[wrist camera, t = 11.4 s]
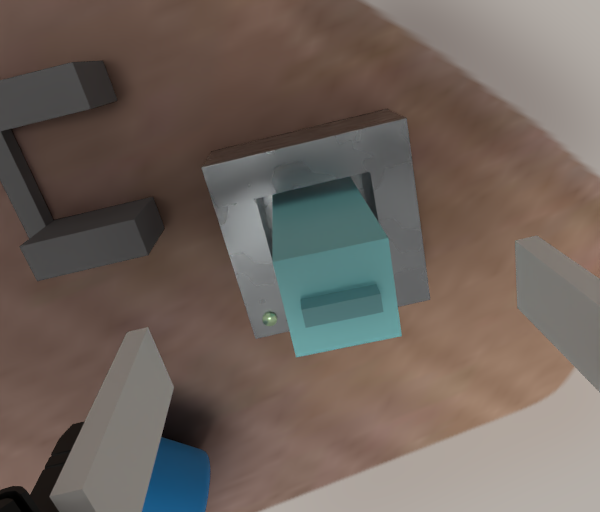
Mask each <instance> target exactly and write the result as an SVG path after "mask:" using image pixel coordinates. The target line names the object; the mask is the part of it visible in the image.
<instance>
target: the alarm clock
mask: <svg viewBox="0 0 600 512" xmlns="http://www.w3.org/2000/svg"><path fill="white" fill-rule="evenodd" d="M209 484H210V461H209V457H208V455H207V453H206V452H205V451H203V450H202V449H199V448H195V447H192V446H189V445H186V444H183V443H179V442H176V441H173V440H170V439H167V438H164V437H161V439H160V443H159V447H158V451H157V455H156V459H155V463H154V467H153V470H152V474H151V478H150V482H149V486H148V490H147V494H146V497H145V501H144V505H143V509H142V512H205V510H206V505H207V499H208V493H209Z"/></svg>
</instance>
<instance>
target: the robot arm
mask: <svg viewBox="0 0 600 512" xmlns="http://www.w3.org/2000/svg"><path fill="white" fill-rule="evenodd" d="M515 255H516V283H517V308H518V309H519V310H520V311H521V312H522V313H523V314H524V315H525V316H526V317H527V318H528V319H529V320H530V321H531V322H532V323H533V324H534V325H535V326H536V327H537V328H538V329H539V330H540V331H541V332H542V334H543V335H544V336H545V337H546V338H547V339H548V340H549V341H550V342H551V343H552V344H553V345H554V346H555V347H556V348H557V349H558V350H559V351H560V352H561V353H562V354H563V355H564V356H565V357H566V358H567V359H568V360H569V361H570V362H571V363H572V364H573V365H574V366H575V367H576V368H577V369H578V370H579V371H580V372H581V374H582V375H583V376H585V378H586V379H587V380H588V381H589V382H590V383H591V384H592V385H593V386H594V387H595V388H596V389H597V390H598V391H599V392H600V279H599V278H598V277H596V276H595V275H593V274H592V273H590V272H589V271H587V270H586V269H585V268H583V267H582V266H580V265H579V264H577V263H576V262H574V261H573V260H572V259H570V258H569V257H567V256H566V255H564V254H563V253H561V252H560V251H559V250H557V249H556V248H554V247H553V246H551V245H550V244H548V243H547V242H545V241H544V240H543V239H541V238H540V237H538V236H533V237H529V238H524V239H520V240H516V241H515ZM173 389H174V386H173V384H172V382H171V379H170V377H169V375H168V372H167V370H166V368H165V365H164V363H163V361H162V358H161V356H160V354H159V351H158V349H157V347H156V344H155V342H154V340H153V338H152V335H151V333H150V331H149V328H148V327H147V328H142V329H138V330H134V331H130V332H127V333H126V335H125V338H124V340H123V342H122V344H121V346H120V348H119V350H118V352H117V354H116V357H115V359H114V361H113V363H112V365H111V367H110V369H109V371H108V374H107V376H106V378H105V380H104V382H103V384H102V386H101V388H100V390H99V393H98V395H97V397H96V399H95V401H94V403H93V405H92V407H91V409H90V412H89V414H88V416H87V418H86V420H85V422H80V423H76V424H72V426H71V427H70V428H69V429H68V430H67V431H66V432H65V433H64V434H63V435H62V436H61V438H60V439H59V440H58V442H57V444H56V446H55V448H54V450H53V452H52V454H51V455H52V456H51V457H50V458H49V460H48V462H47V463H46V465H45V470H43V471H42V473H41V475H40V477H39V479H38V481H37V483H36V485H35V487H34V489H33V491H32V492H31V494H30V495H29V493H28V492H27V491H26V490H25V489H24V488H23V487H21V486H12V487H8V488H5V489H2V490H0V512H142V509H143V505H144V501H145V497H146V494H147V490H148V486H149V482H150V478H151V474H152V470H153V467H154V463H155V459H156V455H157V451H158V447H159V443H160V439H161V436H162V432H163V428H164V424H165V420H166V416H167V412H168V409H169V405H170V401H171V397H172V393H173Z"/></svg>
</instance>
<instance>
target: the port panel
mask: <svg viewBox="0 0 600 512" xmlns="http://www.w3.org/2000/svg"><path fill="white" fill-rule="evenodd" d="M201 168H202V171H203V174H204V177H205V181H206V184H207V187H208V190H209V193H210V196H211V199H212V203H213V206H214V209H215V212H216V215H217V218H218V222H219V225H220V228H221V231H222V234H223V237H224V241H225V244H226V247H227V250H228V253H229V256H230V260H231V263H232V266H233V269H234V272H235V275H236V278H237V282H238V285H239V288H240V291H241V294H242V297H243V301H244V304H245V307H246V310H247V313H248V316H249V320H250V323H251V326H252V329H253V332H254V335H255V338H256V339H257V338H261V337H266V336H270V335H274V334H279V333H283V332H288V331H290V330H289V326H288V322H287V318H286V314H285V310H284V306H283V302H282V298H281V294H280V290H279V286H278V282H277V278H276V274H275V270H274V266H273V262H272V195H273V194H277V193H281V192H286V191H290V190H294V189H298V188H302V187H307V186H311V185H315V184H319V183H324V182H328V181H332V180H336V179H340V178H345V177H349V176H350V177H351V179H352V181H353V182H354V184H355V185H356V187H357V189H358V190H359V192H360V193H361V195H362V197H363V198H364V200H365V201H366V203H367V205H368V206H369V208H370V209H371V211H372V213H373V214H374V216H375V217H376V219H377V221H378V222H379V224H380V225H381V227H382V229H383V230H384V232H385V233H386V235H387V237H388V239H389V246H390V253H391V261H392V268H393V276H394V283H395V290H396V298H397V305H398V307H399V306H404V305H408V304H413V303H417V302H422V301H426V300H430V294H429V286H428V278H427V271H426V263H425V255H424V248H423V240H422V232H421V225H420V217H419V209H418V202H417V194H416V186H415V179H414V171H413V163H412V156H411V148H410V140H409V133H408V125H407V118H405V117H403V116H401V115H399V114H397V113H395V112H393V111H391V110H389V109H385V110H381V111H377V112H372V113H368V114H364V115H360V116H356V117H352V118H348V119H343V120H339V121H335V122H331V123H327V124H323V125H319V126H315V127H310V128H306V129H302V130H298V131H294V132H290V133H286V134H281V135H277V136H273V137H269V138H265V139H261V140H257V141H252V142H248V143H244V144H240V145H236V146H232V147H228V148H224V149H219V150H215V151H211V153H210V154H209V156H208V158H207V159H206V161H205V163H204V164H203V166H202V167H201Z"/></svg>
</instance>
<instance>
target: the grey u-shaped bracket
mask: <svg viewBox="0 0 600 512" xmlns="http://www.w3.org/2000/svg"><path fill="white" fill-rule="evenodd" d="M115 101H117V98H116V95H115V92H114V90H113V87H112V84H111V82H110V79H109V76H108V73H107V71H106V68H105V65H104V63H103V61H87V62H71V63H67V64H63V65H59V66H55V67H51V68H48V69H44V70H40V71H36V72H32V73H28V74H24V75H20V76H16V77H12V78H8V79H4V80H0V181H1V183H2V185H3V187H4V189H5V191H6V193H7V195H8V197H9V199H10V201H11V203H12V205H13V207H14V209H15V211H16V213H17V215H18V217H19V219H20V221H21V223H22V225H23V227H24V229H25V231H26V233H27V235H28V237H29V240H27V241H26V242H25V243H23V244H22V245H21V246H19V247H20V249H21V251H22V253H23V254H24V256H25V258H26V260H27V262H28V264H29V266H30V268H31V270H32V272H33V274H34V276H35V278H36V280H37V281H40V280H44V279H48V278H53V277H57V276H61V275H66V274H70V273H74V272H78V271H83V270H87V269H91V268H95V267H100V266H104V265H108V264H113V263H117V262H121V261H125V260H130V259H134V258H138V257H142V256H147V255H149V253H150V251H151V250H152V248H153V247H154V245H155V243H156V242H157V240H158V238H159V237H160V235H161V234H162V232H163V230H164V229H165V228H164V225H163V223H162V220H161V217H160V215H159V212H158V209H157V206H156V204H155V201H154V198H153V197H149V198H145V199H141V200H137V201H133V202H128V203H124V204H120V205H116V206H112V207H108V208H103V209H99V210H95V211H91V212H87V213H82V214H78V215H74V216H70V217H66V218H62V219H57V220H53V218H52V216H51V214H50V212H49V210H48V208H47V206H46V203H45V201H44V199H43V197H42V195H41V193H40V191H39V188H38V186H37V184H36V182H35V180H34V178H33V176H32V174H31V171H30V169H29V167H28V165H27V163H26V161H25V159H24V156H23V154H22V152H21V150H20V148H19V146H18V144H17V141H16V139H15V137H14V135H13V133H12V131H11V129H12V128H16V127H20V126H24V125H28V124H32V123H36V122H40V121H44V120H48V119H52V118H56V117H60V116H65V115H69V114H73V113H77V112H81V111H85V110H89V109H92V108H96V107H99V106H102V105H105V104H108V103H112V102H115Z"/></svg>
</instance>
